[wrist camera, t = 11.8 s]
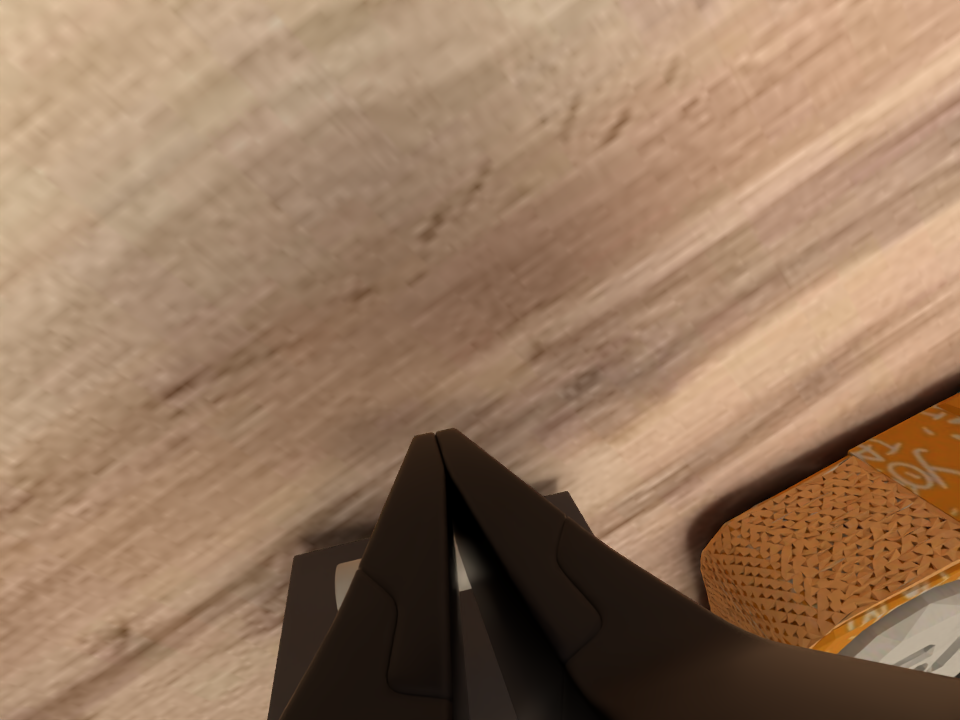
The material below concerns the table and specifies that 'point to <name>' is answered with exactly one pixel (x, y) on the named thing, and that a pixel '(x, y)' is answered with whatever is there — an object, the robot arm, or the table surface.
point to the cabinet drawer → (321, 594)
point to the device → (855, 552)
